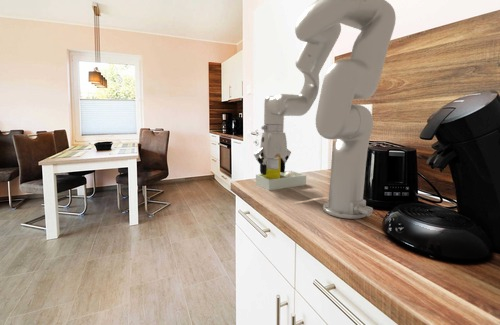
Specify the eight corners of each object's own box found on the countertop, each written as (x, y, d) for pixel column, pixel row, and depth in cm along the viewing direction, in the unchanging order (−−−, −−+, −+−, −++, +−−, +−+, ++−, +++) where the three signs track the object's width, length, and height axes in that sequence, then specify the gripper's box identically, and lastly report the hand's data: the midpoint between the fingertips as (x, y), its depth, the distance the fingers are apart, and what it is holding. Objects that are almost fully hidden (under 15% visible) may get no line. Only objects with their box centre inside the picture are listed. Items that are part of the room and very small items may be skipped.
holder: (305, 186, 107) (306, 175, 107) (269, 191, 99) (269, 179, 98) (290, 180, 116) (291, 170, 115) (255, 185, 107) (255, 174, 107)
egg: (297, 183, 108) (298, 172, 108) (288, 185, 106) (288, 173, 105) (290, 181, 113) (290, 169, 112) (280, 182, 110) (281, 171, 110)
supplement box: (279, 179, 107) (280, 152, 106) (280, 182, 101) (280, 154, 100) (265, 178, 108) (265, 152, 106) (264, 182, 102) (265, 154, 100)
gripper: (259, 129, 94) (258, 177, 97) (297, 129, 102) (295, 172, 105) (249, 128, 100) (248, 173, 103) (286, 128, 109) (284, 169, 112)
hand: (272, 172), depth 104 cm, fingers closed on supplement box, 8 cm apart
